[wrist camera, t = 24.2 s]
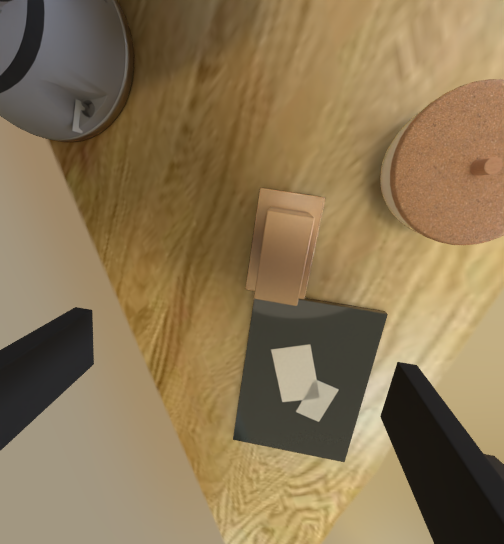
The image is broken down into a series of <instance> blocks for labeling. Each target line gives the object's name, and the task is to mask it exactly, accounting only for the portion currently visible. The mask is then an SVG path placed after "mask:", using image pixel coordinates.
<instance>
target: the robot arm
mask: <svg viewBox="0 0 504 544" xmlns="http://www.w3.org/2000/svg"><path fill="white" fill-rule="evenodd" d="M133 72H134V52H133V44H132V38H131V34H130V30H129V26H128V23H127V21H126V18H125V15H124V13H123V11H122V9H121V7H120V5H119V3H118V1H117V0H0V116H1V117H3V118H4V119H6V120H7V121H9V122H10V123H12V124H13V125H15V126H17V127H19V128H20V129H22V130H25V131H27V132H29V133H31V134H33V135H36V136H39V137H42V138H46V139H51V140H56V141H61V142H76V141H82V140H86V139H89V138H91V137H94V136H96V135H98V134H99V133H101V132H102V131H104V130H105V129H106V128H107V127H109V126H110V125H111V124H112V123H113V121H114V120H115V119H116V118H117V117H118V115H119V114H120V112H121V111H122V109H123V107H124V105H125V103H126V101H127V98H128V95H129V92H130V89H131V85H132V80H133ZM92 326H93V322H92V310H89V309H83V308H77V307H75V308H73V309H72V310H70V311H68V312H66V313H65V314H63V315H61V316H59V317H58V318H56V319H54V320H52V321H51V322H49V323H47V324H45V325H44V326H42V327H40V328H38V329H37V330H35V331H33V332H31V333H29V334H28V335H26V336H24V337H23V338H21V339H19V340H17V341H15V342H14V343H12V344H10V345H8V346H7V347H5V348H3V349H1V350H0V450H2V449H3V448H4V447H5V446H6V445H7V444H8V443H9V442H10V441H11V440H12V439H13V438H15V437H16V436H17V435H18V434H19V433H20V432H21V431H22V430H23V429H24V428H25V427H26V426H27V425H29V424H30V423H31V422H32V421H33V420H34V419H35V418H36V417H37V416H38V415H39V414H40V413H42V412H43V411H44V410H45V409H46V408H47V407H48V406H49V405H50V404H51V403H52V402H53V401H55V400H56V399H57V398H58V397H59V396H60V395H61V394H62V393H63V392H64V391H65V390H66V389H67V388H69V387H70V386H71V385H72V384H73V383H74V382H75V381H76V380H77V379H78V378H79V377H80V376H82V375H83V374H84V373H85V372H86V371H87V370H88V369H89V368H90V367H91V366H92V365H93V364H94V360H93V359H94V358H93V327H92ZM380 417H381V419H382V421H383V424H384V426H385V428H386V431H387V433H388V435H389V438H390V440H391V443H392V445H393V447H394V449H395V452H396V454H397V457H398V459H399V461H400V464H401V466H402V468H403V471H404V473H405V475H406V478H407V480H408V483H409V485H410V487H411V490H412V492H413V495H414V497H415V499H416V501H417V504H418V506H419V509H420V511H421V513H422V516H423V518H424V521H425V523H426V525H427V528H428V530H429V532H430V535H431V537H432V539H433V542H434V544H504V464H503V463H502V462H500V461H499V460H498V459H497V458H496V457H495V456H491V455H486V454H483V453H482V451H481V450H480V449H479V447H478V446H477V445H476V443H475V442H474V441H473V439H472V438H471V437H470V435H469V434H468V433H467V431H466V430H465V429H464V427H463V426H462V425H461V423H460V422H459V421H458V420H457V418H456V417H455V416H454V414H453V413H452V411H451V410H450V409H449V408H448V406H447V405H446V404H445V402H444V401H443V400H442V398H441V397H440V396H439V394H438V393H437V392H436V390H435V389H434V387H433V386H432V385H431V383H430V382H429V381H428V379H427V378H426V377H425V376H424V374H423V373H422V372H421V370H420V369H419V368H418V366H417V365H413V364H407V363H401V362H397V366H396V369H395V372H394V375H393V378H392V381H391V385H390V388H389V391H388V394H387V397H386V401H385V404H384V407H383V410H382V413H381V416H380Z"/></svg>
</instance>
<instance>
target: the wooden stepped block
mask: <svg viewBox="0 0 504 544" xmlns="http://www.w3.org/2000/svg"><path fill="white" fill-rule="evenodd" d="M324 202H325V197H320V196H313V195H306V194H299V193H293V192H286V191H279V190H272V189H266V188H260V191H259V198H258V205H257V212H256V219H255V226H254V233H253V240H252V247H251V254H250V261H249V268H248V275H247V282H246V290H252V291H255V293H254V299H259V300H265V301H271V302H276V303H282V304H288V305H294V306H297V304H298V299H305V294H306V289H307V284H308V279H309V274H310V269H311V265H312V260H313V255H314V250H315V245H316V240H317V236H318V231H319V226H320V221H321V216H322V211H323V206H324Z"/></svg>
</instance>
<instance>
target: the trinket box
mask: <svg viewBox="0 0 504 544" xmlns="http://www.w3.org/2000/svg"><path fill="white" fill-rule="evenodd" d="M380 185H381V190H382V195H383V198H384V200H385V203H386V204H387V206H388V208H389V210H390V211H391V212H392V214H393V215H394V216H395V217H396V218H397V219H398V220H399V221H400V222H401V223H403V224H404V225H405V226H407V227H408V228H410V229H412V230H413V231H415V232H418V233H420V234H422V235H423V236H425V237H427V238H430V239H433V240H435V241H438V242H442V243H447V244H452V245H471V244H479V243H483V242H487V241H491V240H493V239H496V238H499V237H501V236H503V235H504V80H496V79H488V80H482V81H476V82H472V83H469V84H466V85H463V86H460V87H458V88H456V89H454V90H451V91H449V92H447V93H446V94H444V95H442V96H441V97H439V98H438V99H436V100H435V101H433V102H432V103H430V104H429V105H428V106H427V107H426V108H425V109H423V110H422V111H421V112H419V113H418V114H417V115H415V116H414V117H413V118H412V119H411V120H410V121H409V122H408V123H407V124H406V125H405V126H404V127H403V128H402V129H401V130H400V131H399V133H398V134H397V135H396V136H395V138H394V140H393V141H392V143H391V144H390V146H389V148H388V150H387V152H386V154H385V157H384V160H383V163H382V167H381V174H380Z"/></svg>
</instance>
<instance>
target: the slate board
mask: <svg viewBox="0 0 504 544" xmlns="http://www.w3.org/2000/svg"><path fill="white" fill-rule="evenodd" d="M387 315H388V314H387V313H386V312H385V311H380V310H374V309H368V308H362V307H356V306H350V305H344V304H338V303H332V302H326V301H320V300H314V299H308V298H305V299H298V304H297V306H294V305H288V304H282V303H276V302H271V301H265V300H259V299H254V304H253V310H252V317H251V323H250V330H249V337H248V343H247V350H246V357H245V363H244V370H243V376H242V383H241V390H240V396H239V403H238V410H237V416H236V423H235V429H234V436H233V440H237V441H242V442H247V443H252V444H257V445H262V446H267V447H272V448H277V449H282V450H287V451H292V452H297V453H302V454H307V455H311V456H316V457H321V458H326V459H331V460H336V461H341V462H345V458H346V455H347V452H348V448H349V445H350V441H351V438H352V435H353V431H354V428H355V424H356V421H357V417H358V414H359V411H360V407H361V404H362V400H363V397H364V393H365V390H366V387H367V383H368V380H369V376H370V373H371V369H372V366H373V363H374V359H375V356H376V352H377V349H378V345H379V342H380V339H381V335H382V332H383V328H384V325H385V322H386V318H387Z"/></svg>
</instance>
